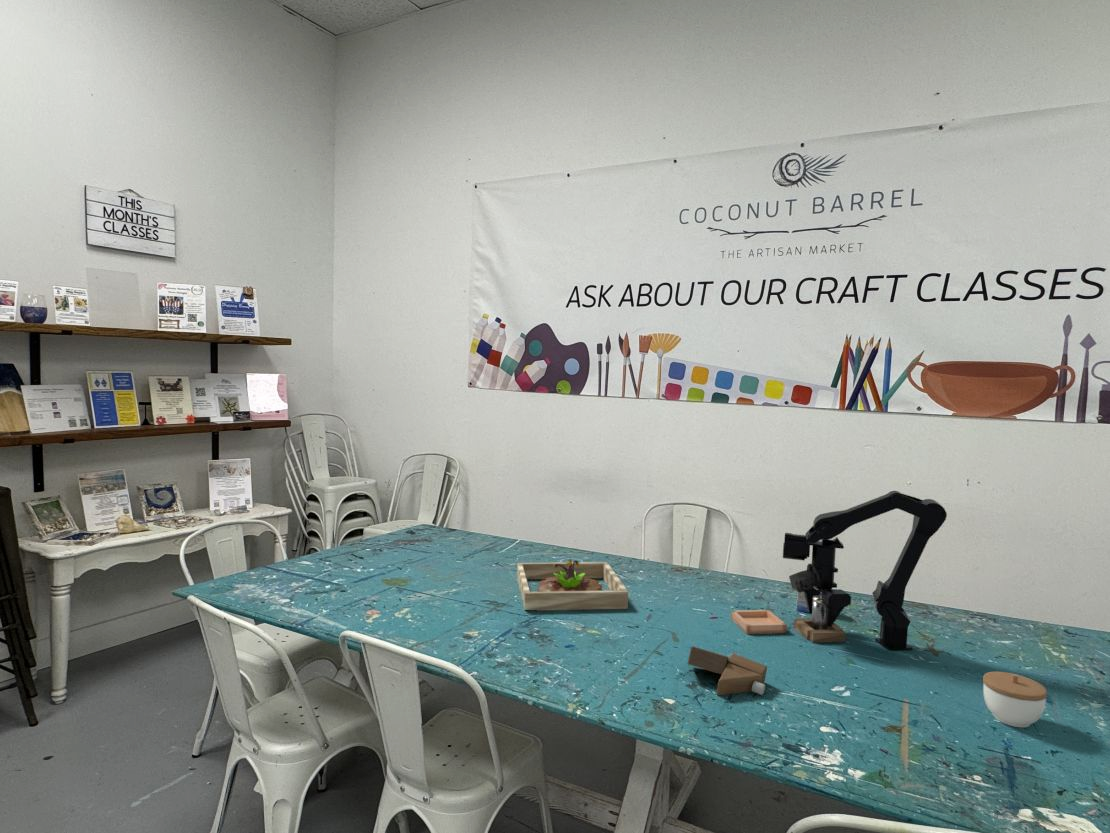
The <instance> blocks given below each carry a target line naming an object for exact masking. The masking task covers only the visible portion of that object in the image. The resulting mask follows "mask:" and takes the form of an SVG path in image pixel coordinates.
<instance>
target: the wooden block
mask: <svg viewBox="0 0 1110 833" xmlns="http://www.w3.org/2000/svg"><path fill="white" fill-rule="evenodd" d="M687 664H688V665H689V666H693V667H696V668H698V669H699V668H700V669H703V670H706V671H709V672H712V673H716V674H718V675H721V676H720V678H719V679H718V683H717V689H716V696H726V695H732V694H741V693H748V692H752V693H755V694H757V695H759V696H763V695H764V693H765V689H766V685H765V681H766V677H767V669H768V666H767V665H764V664H762V663H760V662H757V661H755V660H752V659H750V658H746V657H745V656H741V655H739V654H737V653H734V652H733V653H731V654H730V656H729V657H728V656H726V655H724V654H722V653H721V654H720V653H717V652H714V651H711V650H707V649H703V648H700V647H698V646H691V647H690V651H689V655H688V660H687Z"/></svg>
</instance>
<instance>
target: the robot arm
mask: <svg viewBox="0 0 1110 833" xmlns="http://www.w3.org/2000/svg"><path fill="white" fill-rule="evenodd" d="M896 509H897V510H900V511H903V512H905V513H906V514H907V513H908V514H909V515H912V516H913V520H912V526H911V527H912V528H911V532H910V534H909V535H908V538H907V539H906V542H905V544H904V546H903V547H902V548H903V549H902V551H901V552H900V555H899V556H898V558H897V561H896V563H895V565H894V567H893V569H892V571H891V573H890V576H889V577H888V579H887V580H886V581H885V582H882V581H881V580H878V581H877V584H876V588H875V590H874V591H872V593H871V594H872V596H873V600H872V601H873V603H874V607H875V609H876V611H877V613H878V614H879V616H880V617H881V621H880V628H879V637H875V638H874V641H875V642H877V643H878V644H880V645H881V646H883V647H884V648H885V649H887V650H890V651H893V650H894V651H896V650H897V651H899V650H900V651H901V650H902V651H903V650H912V649H913V647H912V646H911V645H909V644H908V643H907V642H908V632H909V631H908V630H909V625H910V623H911V620H910V618H909V616H908V615H907V612H906V610H905V609H904V607H903V605H904V600H905V593H906V588H907V585H908V583H909V581H910V579H911V577H912V575H913V573H914V571H915V568H916V567H917V565H918V563H919V561H920V558H921V556H922V554H923V552H924V550H925V548H926V546H927V544H928V542H929V540H930V538H932V536H934V535H935V534H936V533H937V532H938V531H939V530H940V528H941V527H942V525H944V523H945V521H946V520H947V514H948V513H947V510H946V509H945V507H944V506H942V505H941V504H940V503H939V502H938V501H936V500H934V499H932V498H925V499H920V498H917V497H915V496H911V495H908V494H904V493H902V492H900V491H897V490H892V491H889V492H888V493H886V494H884V495H881V496H878V497H875V498H873V499H871V500H868V501H865V502H863V503H860V504H858V505H855V506H852V507H850V508H847V509H843V510H838V511H830V512H825V513H821V514H818V515H817V516H815V518H814V520H813V522H812V523H813V524H812V526H811V527H810V528H809V529H808V530H807V531H806V532H805V534H796V533H795V534H794V533H791V532H785V533H784V541H783V548H782V559H786V560H787V559H788V560H797V561H805V560H807V559H808V558H810V553H811V563H808V564H807V566H806V570H802V571H799V572H796V573H794V574H791V575H789V576H788V579H789V582H790V585H791V588H792V589H794V590H796V592H797V591H798V592H804V595H805V599H806V603H807V607H808V611H809V613H808V614H811V615H812V605H813V596H816V595H820V592H822V600H823V601H821V602H822V604H823V605H824V606H825V607H826V622H827V626H828V627H831V626H832V625H833V623H835V622H836V620H837V619H838V617H839V615H840V614H841V612H842V611H843V610H844V609H845V608H846V607H848V606H851V605H852V596H851V595H850V594H849V593H848V592H846V591H845V590H843V589H841V588H840V589H837V588H838V583H836V582H835V573H838V572H839V568H837V567H836V553H837V552H836V549H842V550H843V549H844V548H845V547H844V543H843V542H841V541H840V539H839V537H838V536H839V535H841V534H842V533H843V532H845V531H846V530H848V529H849V528H850V527H852V526H854V525H856V524H859V523H861V522H862V523H863V522H865V521H867V520H869V519H873V518H875V517H878V516H880V515H882V514H883V515H884V514H885V513H888V512H891V511H893V510H896ZM811 547H812V552H811ZM835 588H836V589H835Z"/></svg>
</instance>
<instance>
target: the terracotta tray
mask: <svg viewBox="0 0 1110 833" xmlns="http://www.w3.org/2000/svg"><path fill="white" fill-rule="evenodd" d="M730 613H731V614H730V619H731V620H732V621H733V623H735V624H736V625H737V626H738V627H739V628H740V629H741V630H742V631H743V632H744V633H745V634H746V635H756V634H757V635H761V634H762V635H763V634H766V635H767V634H787V626H788V625H787V624H786V622H784V621H783V620H782V619H780V618H779V617H778V616H776V614H774V613H773V612H771V610H769V609H757V610H756V609H755V610H753V609H750V610H749V609H747V610H745V609H744V610H731V611H730Z"/></svg>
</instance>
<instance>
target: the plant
mask: <svg viewBox="0 0 1110 833" xmlns="http://www.w3.org/2000/svg"><path fill="white" fill-rule="evenodd" d="M566 562H567V565H568V566H569V568H568V569H567V568H566V567H565V566H563V565H562V564H554V565H553V567H554V568H557V567H558V566H561V567H563V568H564V570H565V571H566V572H565V573H563V572H562V571H560V574H561V576H560V575H559V574H557V573H554V575H556V576H555V577H547V578H546V579H542V580H541V581H539V582H538V586H537V592H544V591H602V590H603V589H602V587H603V585H602V584H601V583H600V582H599V581H598V580H596V579H594V578H583V576H584V575H585V573H581V574H579V575H578V576H576V572H575V571H574V564H576V566H578V565H579V562H580V561H579V560H573V561H572V559H571V558H570V559H568V560H567V561H566ZM571 562H573V564H572V563H571Z"/></svg>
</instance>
